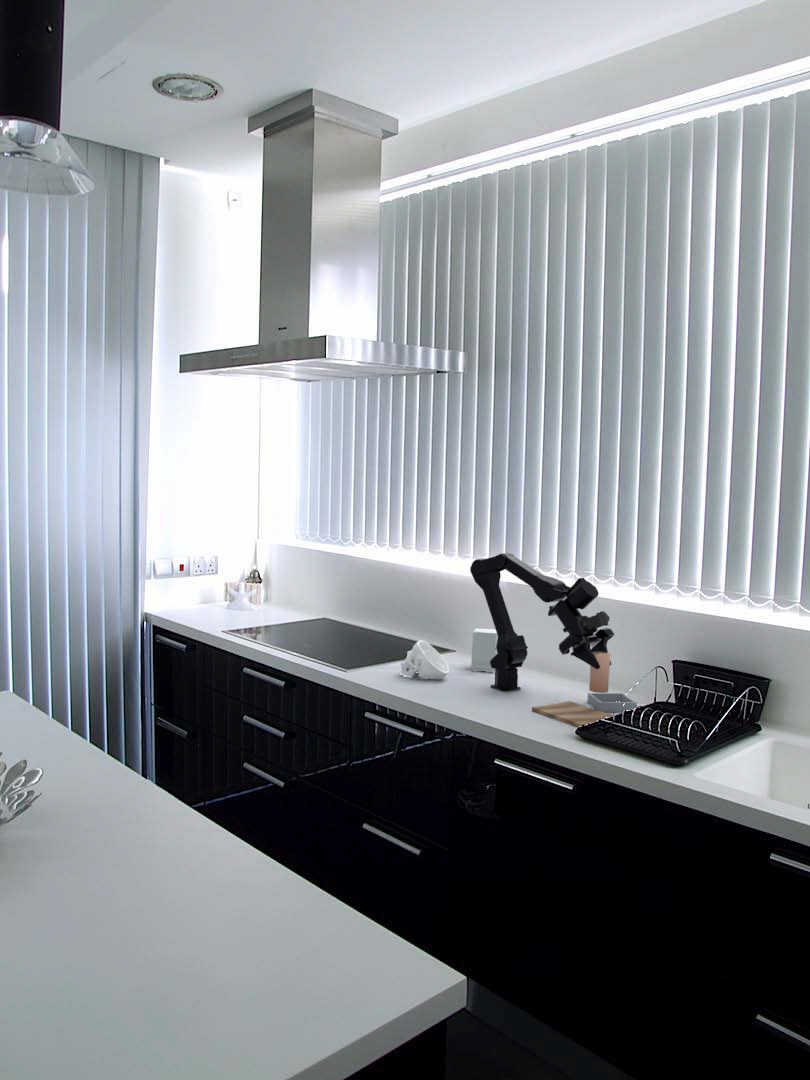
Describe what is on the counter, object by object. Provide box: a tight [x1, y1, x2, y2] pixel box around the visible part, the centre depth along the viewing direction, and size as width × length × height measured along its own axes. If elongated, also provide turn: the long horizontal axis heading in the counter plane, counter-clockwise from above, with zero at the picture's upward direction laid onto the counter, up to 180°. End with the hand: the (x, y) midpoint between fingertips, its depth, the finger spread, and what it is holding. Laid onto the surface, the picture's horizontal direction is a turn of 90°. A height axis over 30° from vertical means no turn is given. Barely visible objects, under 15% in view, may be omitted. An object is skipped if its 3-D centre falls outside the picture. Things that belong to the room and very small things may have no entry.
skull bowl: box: [400, 639, 450, 681], centre depth 279 cm, size 10×14×12 cm
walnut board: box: [531, 700, 615, 728], centre depth 242 cm, size 18×14×1 cm
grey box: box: [586, 692, 638, 713], centre depth 252 cm, size 10×10×2 cm
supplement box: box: [470, 628, 498, 673], centre depth 292 cm, size 7×7×13 cm
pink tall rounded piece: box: [588, 651, 611, 693], centre depth 246 cm, size 5×5×10 cm
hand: (604, 667), depth 244 cm, fingers closed on pink tall rounded piece, 5 cm apart
